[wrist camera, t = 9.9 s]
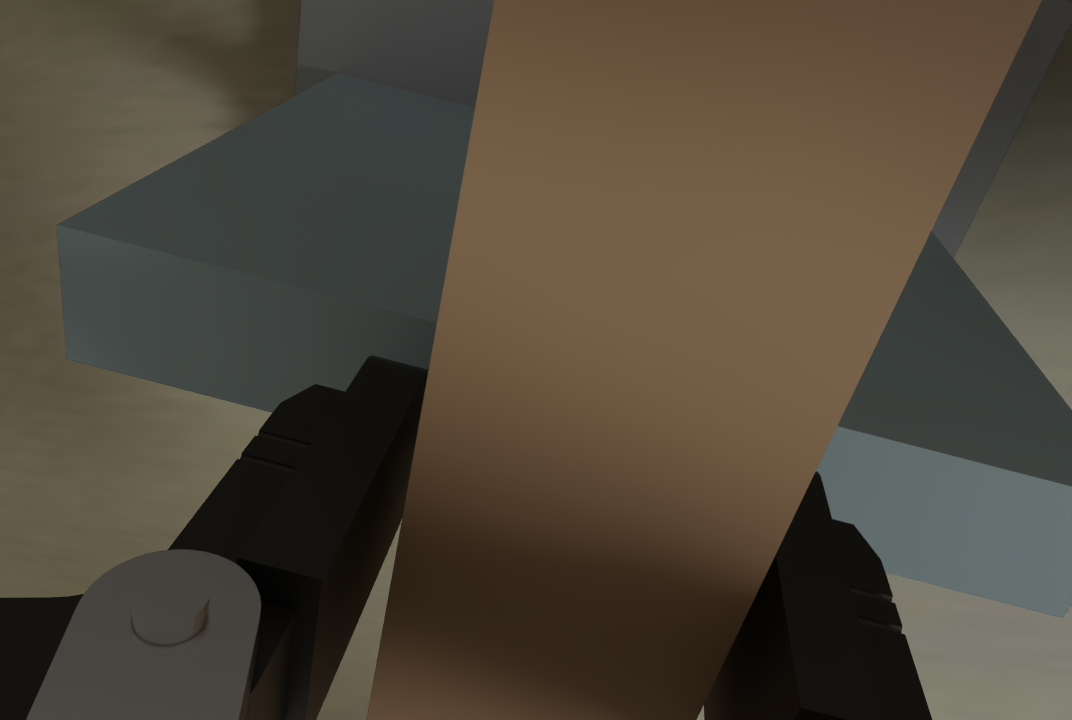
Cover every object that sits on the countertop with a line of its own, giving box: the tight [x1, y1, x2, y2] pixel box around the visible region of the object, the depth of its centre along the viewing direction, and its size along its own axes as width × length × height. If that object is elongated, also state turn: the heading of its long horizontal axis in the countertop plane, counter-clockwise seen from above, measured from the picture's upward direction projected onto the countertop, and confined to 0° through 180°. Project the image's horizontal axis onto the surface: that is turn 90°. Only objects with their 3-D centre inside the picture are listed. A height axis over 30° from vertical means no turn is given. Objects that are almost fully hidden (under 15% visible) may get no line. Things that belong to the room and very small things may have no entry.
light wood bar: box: [367, 0, 1042, 720], centre depth 10 cm, size 24×3×4 cm, turn 168°
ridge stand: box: [57, 0, 1072, 618], centre depth 16 cm, size 12×16×12 cm
